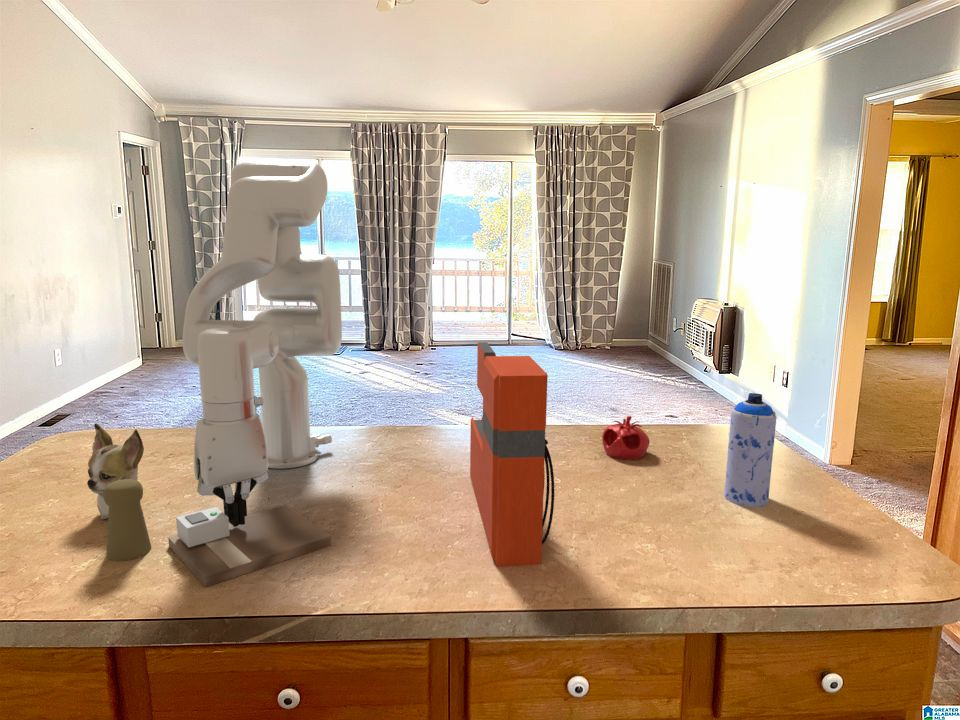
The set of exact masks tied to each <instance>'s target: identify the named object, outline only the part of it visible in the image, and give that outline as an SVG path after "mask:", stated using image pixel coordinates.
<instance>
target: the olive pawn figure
mask: <svg viewBox="0 0 960 720" xmlns="http://www.w3.org/2000/svg"><path fill="white" fill-rule="evenodd" d="M143 495H144V487H143V485H142V483H141V482H139V480H138V481H137V480H133V479H123V480H118V481H115V482H112V483H110V484H109V485H107V486H106V488H105V489H104V494H103V497H104V501H105V503H106V504H107V505H108V506H109V516H108V518H107V519H108V521H107V539H106V558H107V560H109V561H114V562H125V561H132V560H136V559H138V558H141V557H143V556H145V555H147V554H148V553H150V551H151V550H152V543H151V540H150V535H149V531H148V528H147V523H146V520H145V516H144V512H143V507H142V505H141V504H142V503H141V500H142V499H143Z"/></svg>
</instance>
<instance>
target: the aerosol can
mask: <svg viewBox="0 0 960 720" xmlns="http://www.w3.org/2000/svg"><path fill="white" fill-rule="evenodd" d="M776 415H777V413H776V411H775V410H774V409H773V408H772V406H771V405H770V404H767V403H766V402H765V401H763V394H761V393H755V392H749V393H748V396H747V399H744V400H743V401H740V402H738V403H737V404H736V405H735V406H734V407H733V408H732V409H731V412H730V421H729V422H730V423H729V432H728V446H727V456H726V457H727V458H726V459H727V460H726V471H725V481H724V490H723V491H724V493H723V496H724V498H725V499H726V500H727V501H728V502H729V503H731V504H734V505H736V506H739V507H744V508H745V507H746V508H762V507H766V506H767V504H768V503H769V495H770V488H771V478H772V477H771V476H772V468H773V458H774V457H773V456H774V446H775V437H776V436H775V435H776V427H777V416H776Z"/></svg>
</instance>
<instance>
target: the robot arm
mask: <svg viewBox="0 0 960 720" xmlns="http://www.w3.org/2000/svg"><path fill="white" fill-rule="evenodd" d="M230 173H231V174H230V180H231V181H230V182H231V185H230V188H229V190H228V195H227V196H228V197H227V205H226V214H225V223H224V232H223V242H222V251H221V257H220V259H219V260H218V261H217V262H216V263H215V264H214V265H212V267H210V268H209V269H208V270H207V271H206V272H205V273H204V274H203V275H202V276H201V277H200V279H199V280H198V281H197V283H196V285H195V286H194V287H193V289H192V290H191V292H190V294H189V297H188V299H187V302H186V307H185V314H184V320H183V328H182V349H183V350H182V351H183V354H184V356H185V358H186V360H187V361H188V362H189V363H190V364H191V365H194V366H195V367H198V371H199V384H200V385H199V386H200V399H201V411H202V418H199V419H198V420H196V425H195V433H194V442H193V443H194V445H193V446H194V447H193V471H194V472H193V473H194V477H195V479H196V480H197V481H198V483H197V487H196V492H197V493H198V494H199V495H200V496H201V497H202V496H205V497H206V496H216V497H218V498H219V499H220V500H222V502H223V513H224V514H225V515H226V516H228V519H229V523H230V524H232V525H233V526H234V527H236V526H238V525H239V524H241V525H243V524H245V516H247V515H248V509H247V500H248V498H249V497H250V493H251V492H252V491H253V489H254V488H255V487H256V485H259V484H261V483H263V482H265V481H267V480H268V479H269V473H268V470H269V469H277V470H278V469H284V470H285V469H293V468H299V467H303V466H306V465H310V464H312V463H314V462H315V461H316V460H317V459H318V458H319V450H318V449H317V448H319V447H320V446H321V445H328V444H331V443H333V438H332V435H331V434H325V435H320V433H317V434H311V425H310V424H311V423H310V422H311V421H310V418H311V417H310V399H309V395H310V393H309V377H308V374H307V372H306V369H305V368H304V367H303V365H302V364H301V363H300V361H299V360H298V359H297V358H296V357H300V356H301V357H302V356H303V357H304V356H305V357H306V356H307V357H310V356H312V357H313V356H314V357H316V356H317V357H322V356H323V357H326V356H333V355H335V354H336V353H338V352H339V351H340V349H341V346H342V341H343V340H342V337H343V335H342V333H343V329H342V324H343V323H342V306H341V305H342V298H341V295H342V294H341V279H340V271H339V268H338V264H337V262H336V261H335V260H334V258H333V257H331V256H330V255H326V254H319V253H318V254H315V253H314V254H313V253H312V254H310V253H309V254H307V253H306V254H304V253H302V250H301V248H302V247H301V231H300V228H306V227H309V226H311V225H313V224H314V223H315V221H316V219H317V218H318V216H319V214H320V211H321V210H322V208H323V207H324V204H325V202H326V199H327V195H328V179H327V175H326V173H325V171H324V169H323V167H322V166H321V165H319V164H318V163H315V162H309V161H277V160H275V161H274V160H255V161H254V160H253V161H245V162H241V163H238V164H236V165H235V166H234V167H233V168H232V170H231V172H230ZM256 280H257V285H258V291H259V294H260V296H261V297H262V298H263V299H264V300H266V301H270V302H280V303H313V304H315V306H316V308H271V309H266V310H262V311H260V312H258V314H257V315H255V317H254V318H253V320H238V319H237V320H235V319H210V317H211V313H212V311H213V309H214V307H215V306H216V304H217V303H218V302H219V300H221V299H222V298H223V297H225V296H226V295H227V294H229V293H230V292H232V291H235V290H236V289H239V288H241V287H243V286H245V285H248V284H250V283H252V282H255V281H256ZM257 368H258V376H259V377H258V378H259V393H260V396H256V395H255V386H254V385H255V383H254V369H257ZM258 407H260V412H261V417H260V414H259V413H258V412H257V408H258ZM232 484H234V493H233V487H232Z"/></svg>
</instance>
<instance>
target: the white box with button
mask: <svg viewBox="0 0 960 720" xmlns="http://www.w3.org/2000/svg"><path fill="white" fill-rule="evenodd" d="M175 520H176V530H177V531H176V532H177V534H176V535H178V537H179V538H180V539H181V540H182V541H183V542H184V543H185V544H186V545H187V546H188V547H192V546H196V545H199V544H203V543H206V542H209V541H213V540H216V539H220V538H223V537H227V536H230V534H229V519H228V516H226V515H225V514H224V511H221V510H220V509H219V508H218V507H217V506H214V507H211V508H206V509H203V510H198V511H194V512H191V513H188V514H183V515H180V516H176V517H175Z"/></svg>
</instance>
